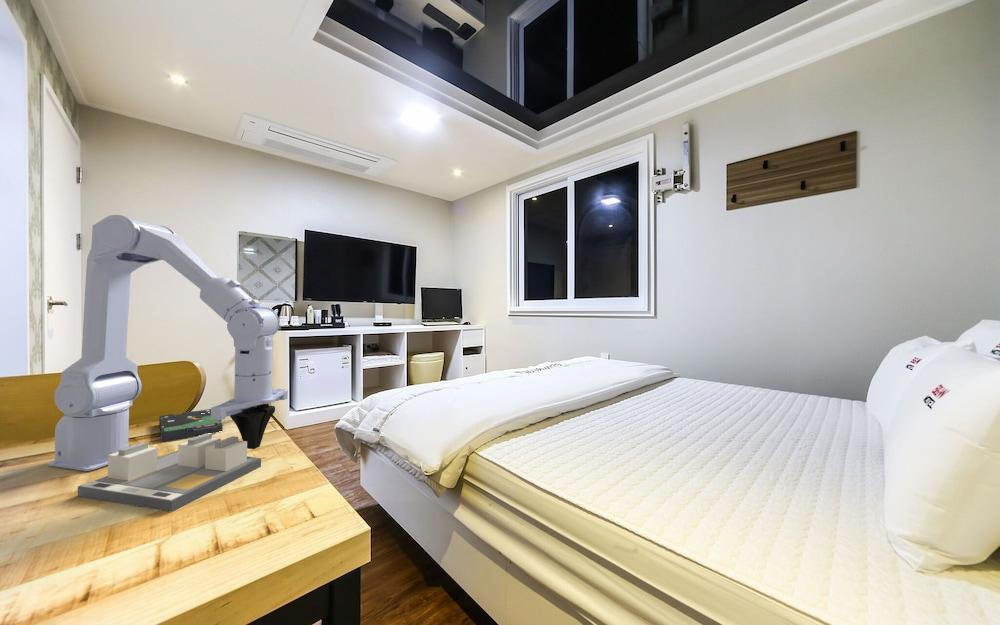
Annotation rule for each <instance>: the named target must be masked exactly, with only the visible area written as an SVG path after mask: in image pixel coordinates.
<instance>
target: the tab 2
mask: <svg viewBox="0 0 1000 625" xmlns="http://www.w3.org/2000/svg"><path fill="white" fill-rule="evenodd" d="M221 440H222V438H220V437H218V438H217V437H213V434H207V433H206V434H203V435H200V436H195V437H190V438H187V441H184V442H181V443H179V444H178V446H177V448H178V449H177V451H178V465H181V466H188V467H196V468H198V467H201V466H203V465H205V452H206V447H209V446H211V445H214V444H215V443H216V442H219V441H221Z"/></svg>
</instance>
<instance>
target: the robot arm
mask: <svg viewBox="0 0 1000 625" xmlns="http://www.w3.org/2000/svg"><path fill="white" fill-rule="evenodd" d="M91 229H92V231H91V233H92V234H91V245H90V246H91V247H90V250H89V252H88V255H87V257H86V268H85V269H86V270H85V287H84V290H85V291H84V304H83V306H84V307H83V322H82V323H83V325H82V339H81V340H82V341H81V342H82V343H81V357H80V358H79V359H78V360H77V361H75V362H73V363H72V364H71V365H70V366H68V367H66V368H65V369H64V370H63V371H62V372H61V379H60V382H59V384H58V385H57V387H56V389H55V391H54V395H53V396H54V398H53V399H54V403H55V406H56V407H57V409H58V410H59V411H60V412H62V413H63V414H64V415H63V416H62V417H61V418H60V419H59V420H58V422H57V424H56V425H55V428H54V429H55V430H54V460H53V461H49V462H47V463H46V465H47V466H50V467H56V468H62V469H69V470H77V471H83V472H90V471H94V470H97V469H100V468H103V467H106V466H108V455H110V454H113V453H116V452H118V451H119V450H120V449H123V448H126V447H129V437H130V436H129V432H130V431H129V430H130V428H129V425H130V408H131V407H132V406H133V405H134V403H133V401H134V400H136V399H137V398H138V397H139V396H140V394H141V392H142V386H143V385H142V381H141V378H140V377H139V374H138V367H139V366H138V364H137V363H135V362H134V361H133V360H131V359H130V358H128V356H127V343H128V330H129V329H128V327H129V308H130V296H131V295H130V291H131V276H132V273H133V272H135V271H137V270H138V269H139V268H141V267H143V266H145V265H149V264H152V263H156V262H159V261H164V262H166V263H167V264H168V265H170V266H171V267H172V268H173V269H174V270H176V271H177V272H178V273H180V274H181V275H182V276H183V277H184V278H186V279H187V280H188V281H190V282H191V283H192V284H193V285H194V286H196V287H197V288H198V289H200V292H199V298H200V300H201V301H202V302H203V303H204V304H206V305H207V306H208V307H209V308H210V309H211V310H212V311H213V312H215V313H216V315H218V316H219V317H220V318H221V319H222V320H223V321H225V322H226V329H227V331H228V333H229V336H231V338H232V339H233V347H234V383H233V384H234V386H233V387H234V390H233V391H234V392H233V393H234V394H233V395H234V397H233V398H231V399H229V400H227V401H225V402H223V403H221V404H219V405H214V406H212V407H210V409H211V419H218V420H225V419H226V418H227V417H230V419H231V420H232V422H234V424H235V425H236V428H237V429H238V432H239V434H240V436H241V441H247V450H255V449H258V448H260V446H261V444H262V440H263V437H264V434H265V431H266V428H267V426H268V423H269V422H270V420H271V418H272V417H273V415H274V413H275V412H276V406H275V405H270V404H272V403H276V402H278V401H285V400H288V396H289V393H288V391H289V389H286V388H278V389H277V388H276V389H273V348H274V347H273V346H274V335H275V334H277V332H278V331H279V328H280V325H281V324H280V318H279V316H278V314H277V313H276V312H275V310H274V309H272V308H270V307H266V306H265V307H263V306H260V304H261V302H260V301H258V299H253V298H252V297H251V296H250V295H249V294H247V292H246V291H244V290H243V289H242V288H241V286H242V284H241V283H240V282H239V281H238V280H237V279H231V278H228V277H219V276H218V275H216V273H214V271H212V270H211V268H210V267H209V266H208V265H207V264H206V263H205V262H203V260H202V259H201V258H200V257H199V256H198V255H197V254H196V253H195V252H194V251H193V250H192V249H191V248H190V247H189V246H188V245H187V244H186V242H185V239H184V237H182V236H180V235H179V234H177V233H176V232H175V231H174V230H173V229H172V228H171V227H168V226H164V225H158V224H154V223H150V222H145V221H142V220H139V219H134V218H130V217H128V216H125V215H121V214H110V215H108V216H106V217H104V218H103V219H101V220H100V221H98V222H96V223H95V224H92V228H91Z"/></svg>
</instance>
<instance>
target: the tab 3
mask: <svg viewBox="0 0 1000 625" xmlns="http://www.w3.org/2000/svg"><path fill="white" fill-rule="evenodd" d="M247 456H248V449H247V441H243V440H239V436H234V435H233V436H230V437H227V438H224V439H221V441H219V442H216V443H215V444H214V445H211V446H209V447H206V452H205V469H211V470H218V471H228V470H230V469H232V468H234V467H236V466H238V465H240V464H242V463H245V462H247Z"/></svg>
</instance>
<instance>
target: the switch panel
mask: <svg viewBox="0 0 1000 625" xmlns="http://www.w3.org/2000/svg"><path fill="white" fill-rule="evenodd" d="M260 467H262V458H261V457H255V456H248V455H247V462H245V463H242V464H240V465H238V466H236V467H234V468H232V469H230V470H228V471H218V470H211V469H205V465H203V466H201V467H198V468H196V467H188V466H181V465H178V450H176V451H173V452H170V453H166V454H164V455H161V456H159V457H157V470H154V471H152V472H149V473H147V474H144V475H141V476H139V477H136V478H134V479H131V480H129V481H128V480H121V479H114V478H108V475H106V476H104V477H100V478H98V479H95V480H91V481H89V482H86V483H83V484H80V485H78V486H77V497H78V498H84V499H90V500H96V501H102V502H109V503H116V504H120V505H127V506H134V507H140V508H145V509H152V510H157V511H158V510H159V511H163V512H171V513H172V512H174V511H176V510H178V509H180V508H182V507H185V505H189V504H190V503H192V502H194V501H195V500H197V499H200V498H202V497H204V496H206V495H208V494H210V493H212V492H213V491H215V490H218V489H219V488H222V487H223V486H225V485H227V484H229V483H231V482H234V481H235V480H237V479H239V478H241V477H243V476H245V475H246V474H249V473H251V472H253V471H254V470H256V469H258V468H260Z"/></svg>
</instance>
